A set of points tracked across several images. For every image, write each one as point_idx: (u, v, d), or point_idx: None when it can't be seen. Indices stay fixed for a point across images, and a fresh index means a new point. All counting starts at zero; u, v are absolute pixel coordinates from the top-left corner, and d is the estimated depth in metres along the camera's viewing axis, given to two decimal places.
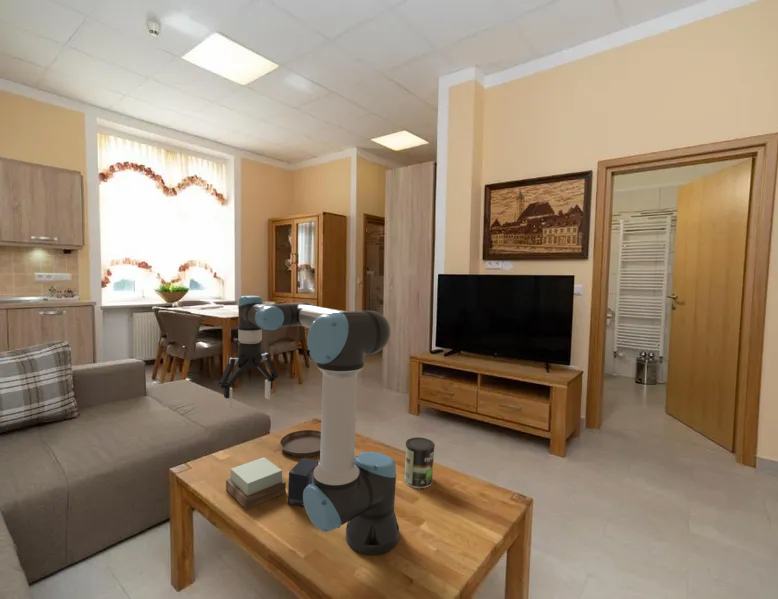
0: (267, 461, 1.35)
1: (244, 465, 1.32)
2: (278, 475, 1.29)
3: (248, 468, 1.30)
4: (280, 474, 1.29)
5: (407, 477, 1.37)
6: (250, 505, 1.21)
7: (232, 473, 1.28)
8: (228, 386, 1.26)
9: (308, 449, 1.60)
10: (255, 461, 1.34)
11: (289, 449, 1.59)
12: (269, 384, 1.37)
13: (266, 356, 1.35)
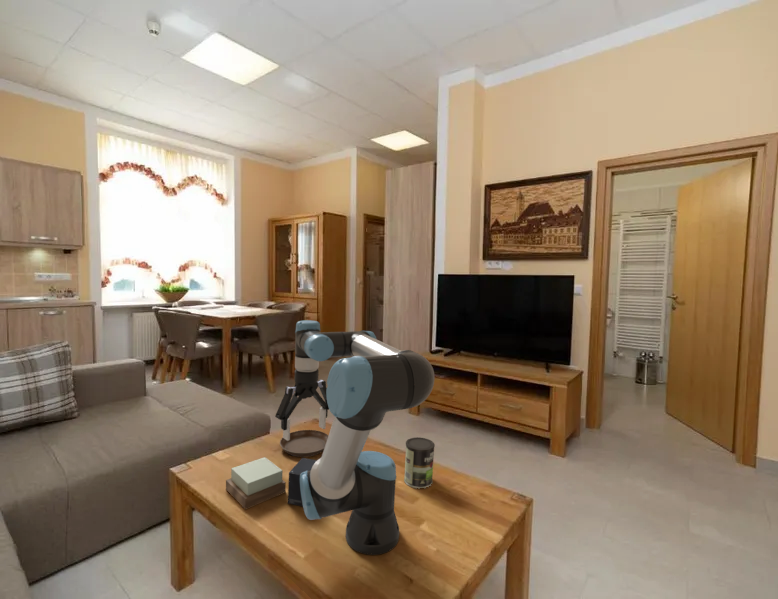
0: (268, 461, 1.35)
1: (244, 464, 1.32)
2: (279, 475, 1.29)
3: (249, 467, 1.30)
4: (280, 474, 1.29)
5: (407, 477, 1.37)
6: (250, 505, 1.21)
7: (233, 473, 1.28)
8: (286, 417, 1.19)
9: (308, 449, 1.60)
10: (255, 461, 1.34)
11: (289, 449, 1.59)
12: (324, 413, 1.30)
13: (322, 383, 1.28)
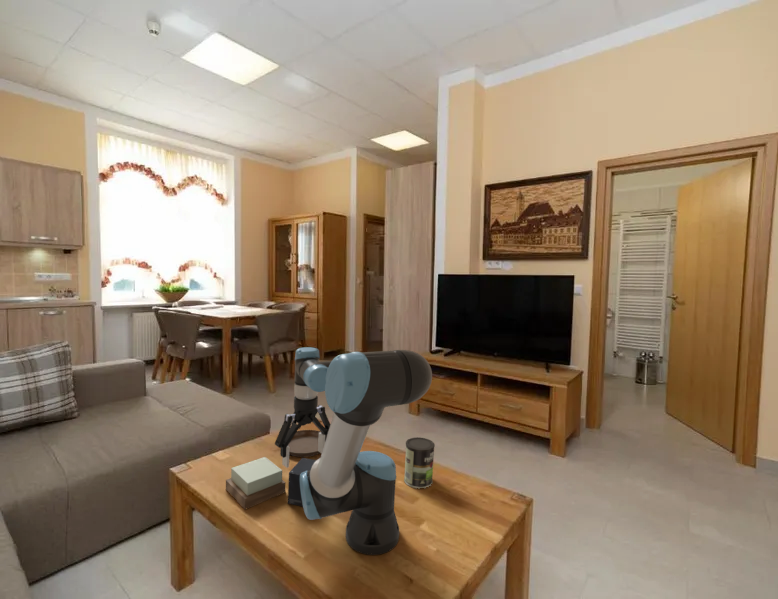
0: (268, 461, 1.35)
1: (244, 464, 1.32)
2: (279, 475, 1.29)
3: (249, 467, 1.30)
4: (280, 474, 1.29)
5: (407, 477, 1.37)
6: (250, 505, 1.21)
7: (233, 472, 1.29)
8: (285, 445, 1.20)
9: (308, 449, 1.60)
10: (256, 461, 1.34)
11: (289, 449, 1.59)
12: (324, 438, 1.31)
13: (321, 409, 1.29)
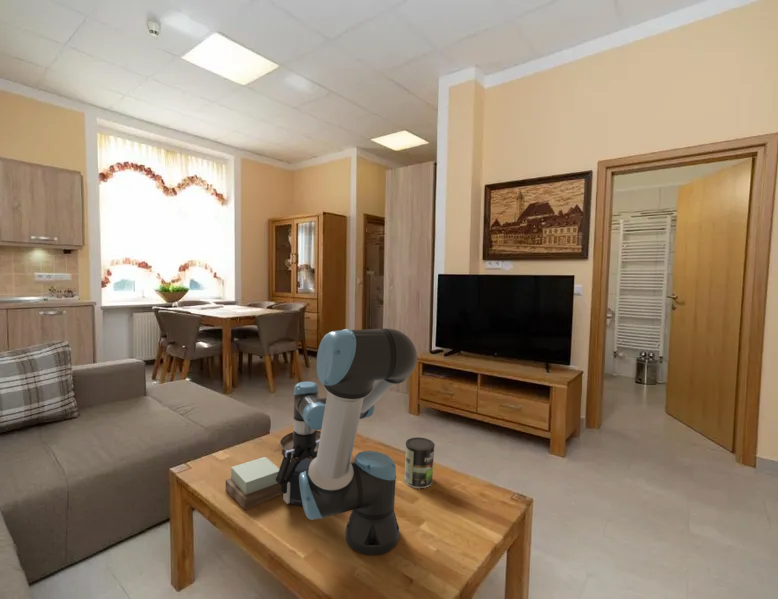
0: (268, 461, 1.35)
1: (244, 464, 1.32)
2: None
3: (249, 467, 1.31)
4: None
5: (407, 477, 1.37)
6: (249, 505, 1.21)
7: (232, 472, 1.29)
8: (286, 481, 1.21)
9: None
10: (256, 461, 1.35)
11: (289, 449, 1.59)
12: None
13: None
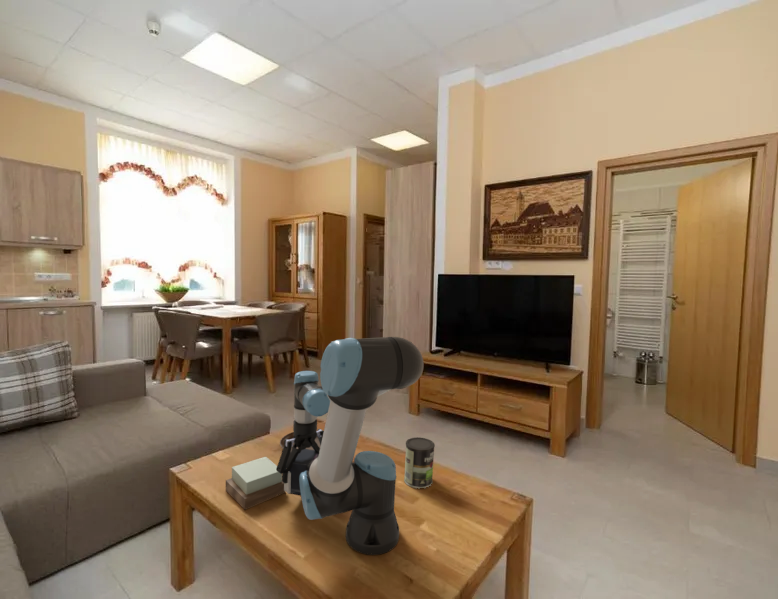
0: (268, 460, 1.35)
1: (245, 464, 1.32)
2: (278, 475, 1.29)
3: (249, 467, 1.31)
4: (280, 474, 1.29)
5: (407, 477, 1.37)
6: (250, 505, 1.21)
7: (233, 472, 1.29)
8: (287, 470, 1.21)
9: None
10: (256, 461, 1.35)
11: None
12: None
13: (321, 433, 1.30)
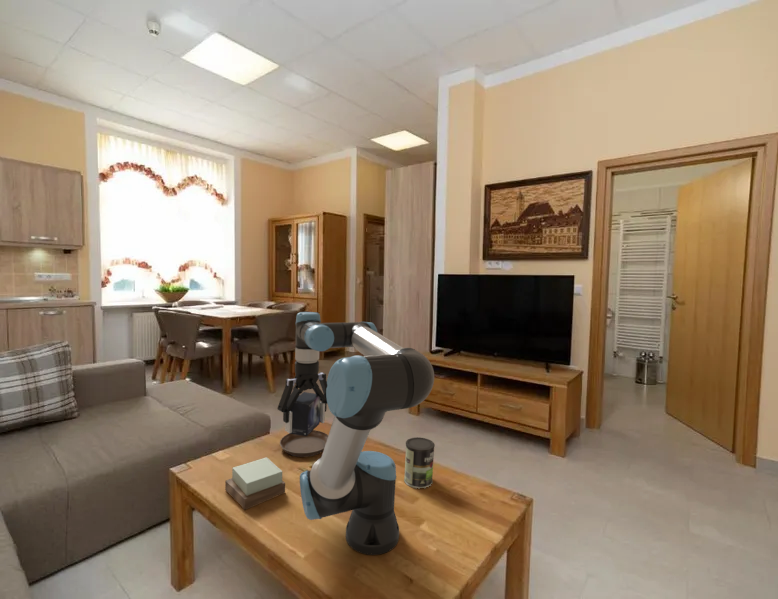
0: (269, 461, 1.35)
1: (246, 464, 1.32)
2: (279, 476, 1.28)
3: (250, 467, 1.30)
4: (280, 475, 1.29)
5: (407, 477, 1.37)
6: (249, 506, 1.21)
7: (233, 472, 1.29)
8: (288, 410, 1.19)
9: (308, 449, 1.60)
10: (257, 461, 1.34)
11: (289, 449, 1.59)
12: (323, 407, 1.29)
13: (322, 376, 1.28)
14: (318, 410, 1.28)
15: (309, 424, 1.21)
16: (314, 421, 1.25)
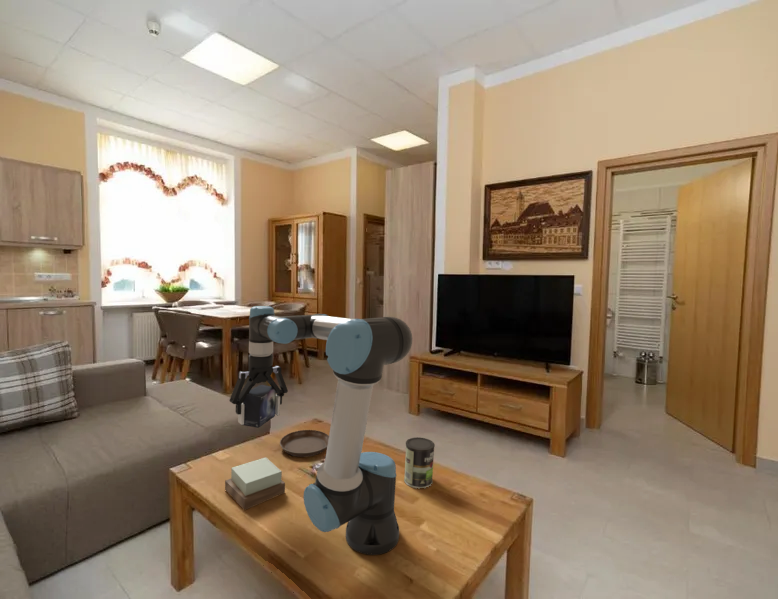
0: (268, 461, 1.35)
1: (245, 464, 1.32)
2: (278, 476, 1.28)
3: (249, 467, 1.30)
4: (279, 475, 1.29)
5: (407, 477, 1.37)
6: (249, 506, 1.21)
7: (232, 472, 1.29)
8: (240, 402, 1.22)
9: (308, 449, 1.60)
10: (256, 461, 1.34)
11: (289, 449, 1.59)
12: (278, 399, 1.31)
13: (277, 369, 1.30)
14: (273, 402, 1.30)
15: (261, 416, 1.24)
16: (267, 413, 1.27)
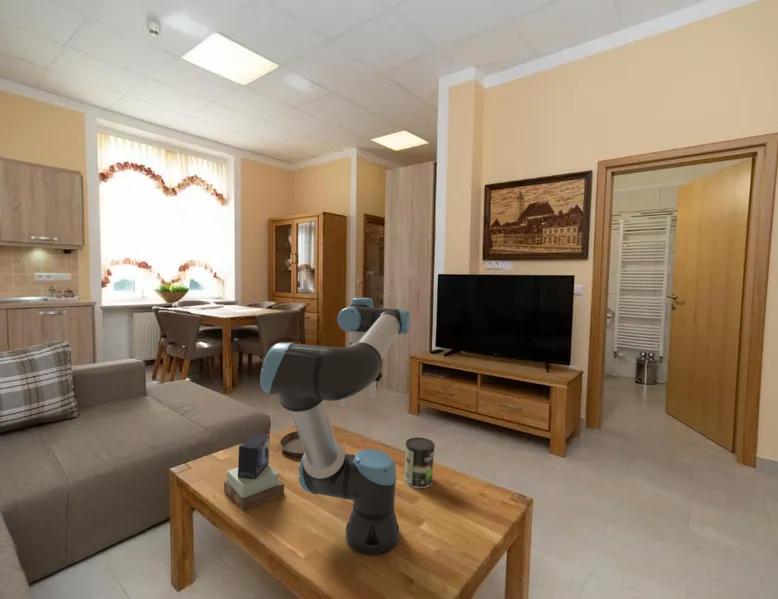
0: None
1: None
2: (275, 478, 1.27)
3: None
4: (276, 477, 1.28)
5: (407, 477, 1.37)
6: (248, 507, 1.21)
7: (228, 475, 1.27)
8: None
9: None
10: None
11: (289, 449, 1.59)
12: (375, 384, 1.40)
13: None
14: (267, 451, 1.31)
15: (258, 467, 1.25)
16: (262, 462, 1.28)
